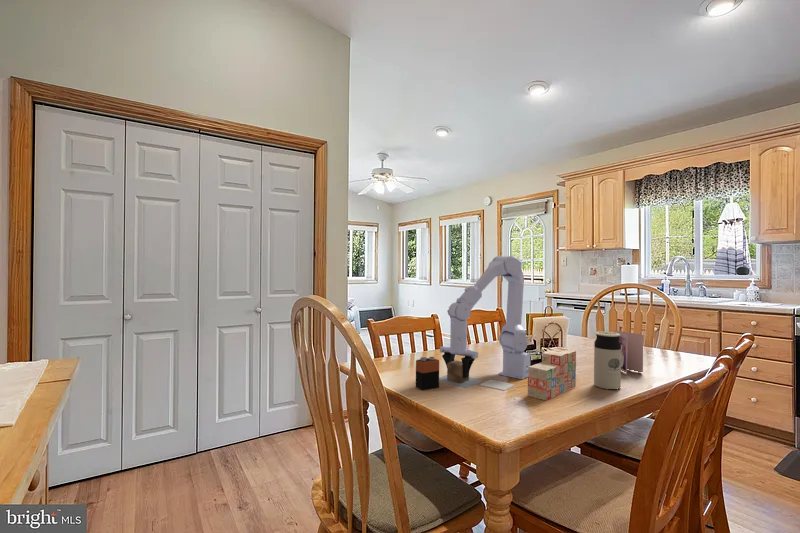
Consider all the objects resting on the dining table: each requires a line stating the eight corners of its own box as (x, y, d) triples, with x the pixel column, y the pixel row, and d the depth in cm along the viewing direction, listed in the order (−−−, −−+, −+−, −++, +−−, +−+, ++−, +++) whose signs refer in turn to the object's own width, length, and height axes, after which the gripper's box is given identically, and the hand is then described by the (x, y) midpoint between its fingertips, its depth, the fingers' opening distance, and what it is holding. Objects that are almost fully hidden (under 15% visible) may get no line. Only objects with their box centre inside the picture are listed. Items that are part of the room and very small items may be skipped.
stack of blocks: (546, 401, 120) (547, 360, 120) (527, 396, 125) (527, 356, 125) (575, 386, 135) (576, 350, 135) (557, 382, 140) (558, 347, 140)
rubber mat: (515, 385, 135) (515, 384, 135) (504, 391, 129) (504, 390, 129) (491, 380, 141) (491, 379, 141) (479, 385, 135) (479, 384, 135)
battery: (415, 387, 132) (415, 357, 132) (431, 384, 136) (432, 354, 136) (422, 391, 128) (422, 359, 128) (439, 387, 132) (439, 357, 132)
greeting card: (611, 367, 161) (612, 330, 161) (631, 368, 160) (631, 330, 160) (624, 375, 150) (625, 335, 150) (645, 376, 149) (646, 335, 149)
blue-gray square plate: (483, 380, 141) (483, 380, 141) (465, 388, 132) (465, 387, 132) (451, 373, 149) (451, 373, 149) (432, 380, 140) (432, 380, 140)
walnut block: (469, 379, 141) (469, 362, 141) (460, 383, 137) (460, 365, 137) (455, 377, 145) (455, 360, 145) (447, 380, 140) (447, 363, 140)
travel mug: (590, 382, 140) (591, 330, 140) (615, 383, 139) (615, 331, 139) (598, 389, 132) (599, 334, 132) (624, 391, 131) (625, 335, 131)
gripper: (435, 335, 142) (434, 374, 142) (470, 341, 133) (470, 382, 133) (446, 333, 148) (445, 370, 148) (481, 338, 138) (480, 377, 138)
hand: (458, 375), depth 141 cm, fingers closed on walnut block, 5 cm apart
